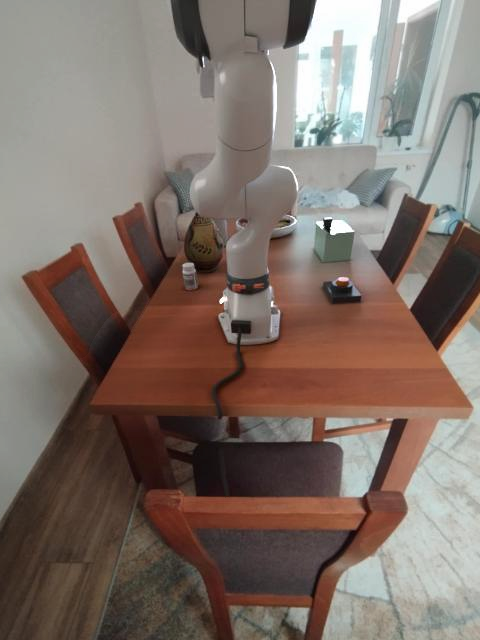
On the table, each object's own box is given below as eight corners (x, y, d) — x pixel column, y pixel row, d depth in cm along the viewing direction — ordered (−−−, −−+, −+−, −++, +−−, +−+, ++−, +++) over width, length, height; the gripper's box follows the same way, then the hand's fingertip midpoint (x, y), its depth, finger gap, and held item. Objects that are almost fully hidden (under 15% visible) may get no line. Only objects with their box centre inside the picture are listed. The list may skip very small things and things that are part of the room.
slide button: (331, 226, 129) (332, 218, 127) (324, 227, 129) (325, 219, 127) (330, 225, 131) (330, 217, 129) (322, 225, 131) (323, 217, 129)
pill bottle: (192, 283, 120) (188, 261, 115) (201, 286, 118) (197, 263, 113) (182, 288, 117) (178, 265, 112) (191, 291, 115) (187, 268, 110)
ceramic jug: (225, 275, 125) (217, 186, 106) (185, 277, 125) (170, 189, 107) (226, 258, 138) (219, 177, 120) (190, 260, 139) (177, 180, 120)
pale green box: (351, 262, 129) (356, 232, 122) (324, 264, 129) (327, 234, 122) (338, 247, 143) (342, 220, 136) (313, 248, 143) (316, 221, 136)
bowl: (304, 226, 170) (305, 209, 165) (281, 243, 150) (282, 225, 145) (252, 221, 182) (252, 205, 177) (225, 237, 162) (224, 220, 157)
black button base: (360, 301, 103) (362, 290, 101) (332, 304, 103) (333, 292, 101) (348, 285, 113) (350, 274, 110) (322, 287, 112) (323, 276, 110)
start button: (349, 286, 104) (350, 281, 103) (338, 287, 104) (339, 281, 103) (346, 281, 107) (346, 276, 106) (335, 282, 107) (335, 277, 106)
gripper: (193, 50, 83) (201, 119, 91) (274, 46, 83) (273, 115, 92) (195, 53, 87) (201, 118, 96) (271, 49, 88) (270, 114, 97)
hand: (237, 117), depth 94 cm, fingers open, 8 cm apart
